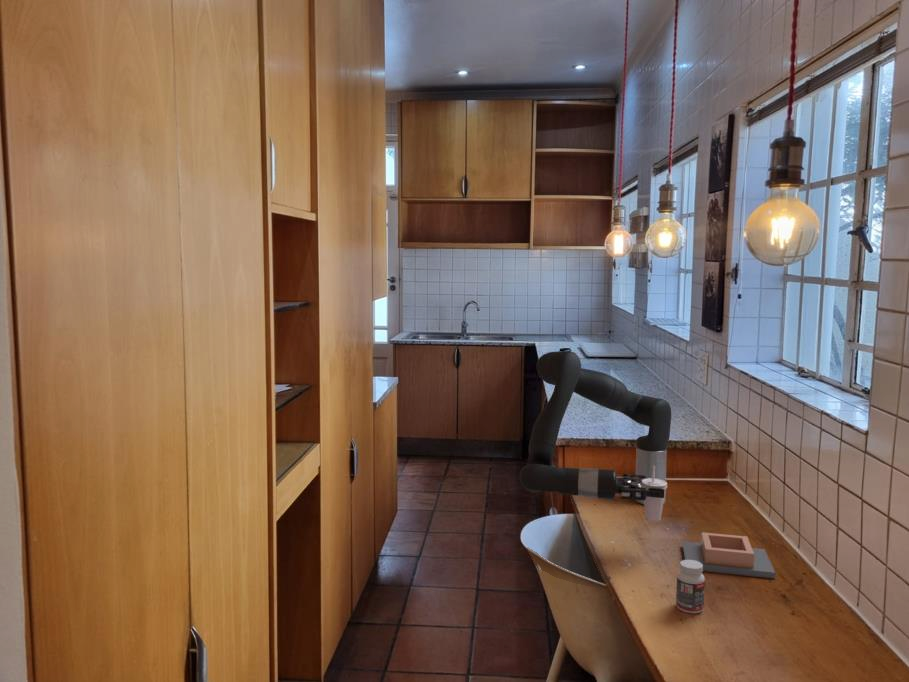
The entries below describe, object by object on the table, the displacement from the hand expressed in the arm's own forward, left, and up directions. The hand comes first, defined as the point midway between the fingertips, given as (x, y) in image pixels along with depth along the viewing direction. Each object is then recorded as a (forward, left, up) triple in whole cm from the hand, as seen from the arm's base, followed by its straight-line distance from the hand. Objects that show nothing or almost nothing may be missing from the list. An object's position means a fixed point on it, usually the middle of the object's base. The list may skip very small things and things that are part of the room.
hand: (663, 489), depth 172 cm
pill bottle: (+26, +10, -18) cm, 32 cm away
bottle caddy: (-3, +15, -17) cm, 23 cm away
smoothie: (0, -2, -8) cm, 9 cm away
